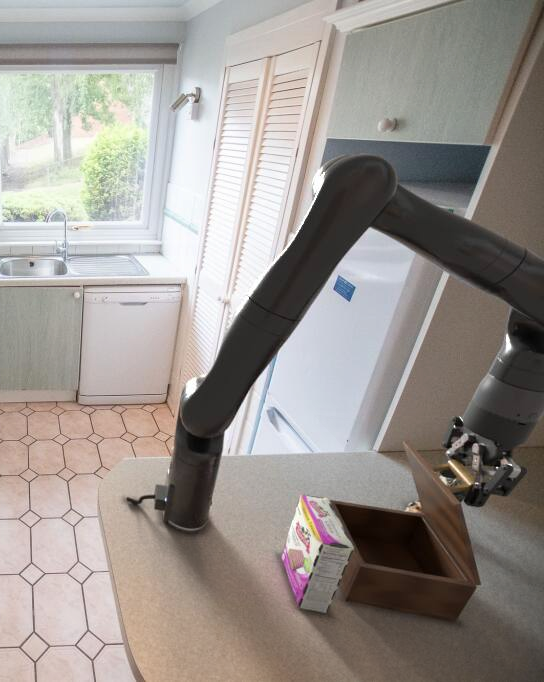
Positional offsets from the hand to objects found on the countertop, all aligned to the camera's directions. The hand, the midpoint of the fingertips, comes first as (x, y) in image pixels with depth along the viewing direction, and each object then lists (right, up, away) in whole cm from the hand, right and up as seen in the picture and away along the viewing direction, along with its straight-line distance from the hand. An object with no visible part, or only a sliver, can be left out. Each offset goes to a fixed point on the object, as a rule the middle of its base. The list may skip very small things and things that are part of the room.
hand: (459, 490), depth 75 cm
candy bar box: (-21, -20, +8) cm, 31 cm away
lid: (-2, -4, +2) cm, 5 cm away
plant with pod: (+15, -14, +23) cm, 30 cm away
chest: (-5, -19, +10) cm, 22 cm away
